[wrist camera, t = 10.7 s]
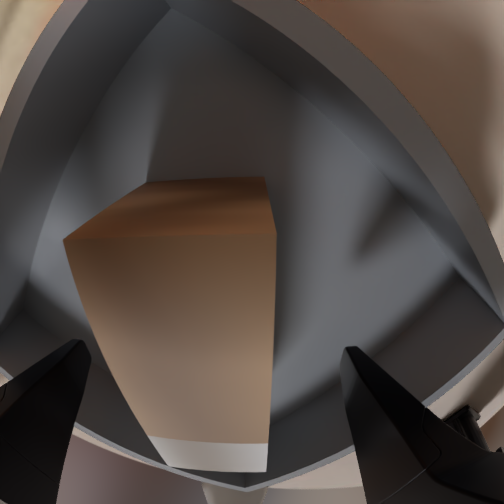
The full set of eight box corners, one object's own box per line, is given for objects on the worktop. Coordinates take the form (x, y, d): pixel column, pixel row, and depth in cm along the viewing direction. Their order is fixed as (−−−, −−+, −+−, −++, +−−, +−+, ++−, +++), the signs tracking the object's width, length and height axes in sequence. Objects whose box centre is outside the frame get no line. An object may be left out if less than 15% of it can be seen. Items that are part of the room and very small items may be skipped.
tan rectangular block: (264, 176, 9) (276, 233, 5) (263, 383, 13) (266, 471, 9) (146, 182, 9) (62, 239, 5) (185, 381, 13) (168, 466, 9)
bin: (468, 267, 11) (520, 319, 7) (248, 437, 17) (247, 492, 13) (174, -9, 6) (131, -70, 2) (17, 303, 12) (-24, 349, 8)
